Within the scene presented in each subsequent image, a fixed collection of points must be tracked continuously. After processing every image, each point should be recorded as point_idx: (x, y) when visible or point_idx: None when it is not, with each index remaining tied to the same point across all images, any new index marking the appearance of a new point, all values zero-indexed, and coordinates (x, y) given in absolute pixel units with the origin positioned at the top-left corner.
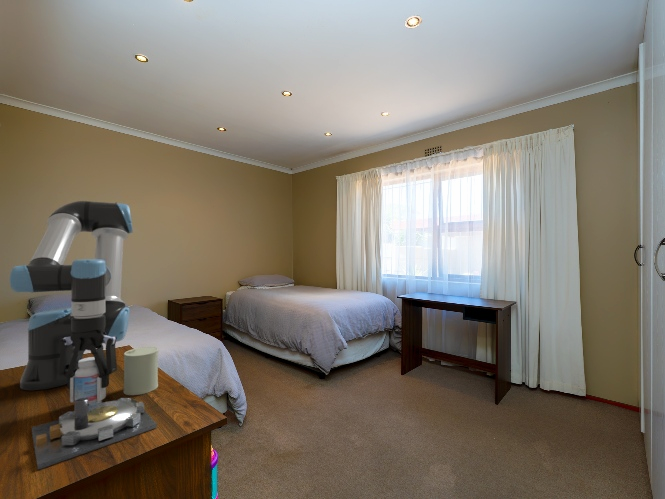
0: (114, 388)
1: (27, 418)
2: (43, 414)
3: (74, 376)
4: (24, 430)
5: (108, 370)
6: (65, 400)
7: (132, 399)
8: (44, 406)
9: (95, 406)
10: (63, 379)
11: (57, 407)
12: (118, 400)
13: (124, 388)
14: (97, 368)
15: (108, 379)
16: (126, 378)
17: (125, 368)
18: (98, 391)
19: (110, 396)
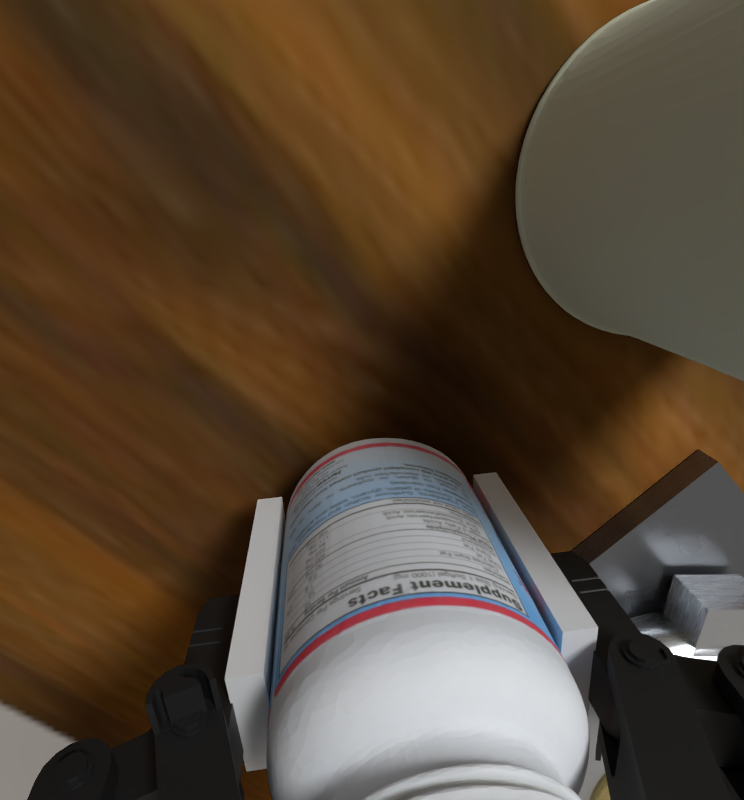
0: (386, 164)
1: (114, 673)
2: (169, 628)
3: (253, 733)
4: (243, 765)
5: (736, 786)
6: (115, 433)
7: (711, 480)
8: (45, 531)
9: (588, 723)
10: None
11: (169, 541)
12: (705, 645)
13: (570, 296)
14: (574, 791)
15: (613, 606)
16: (669, 349)
17: (741, 368)
18: None
19: (459, 354)
